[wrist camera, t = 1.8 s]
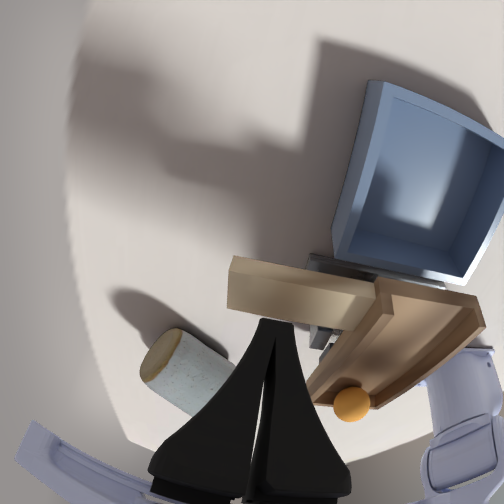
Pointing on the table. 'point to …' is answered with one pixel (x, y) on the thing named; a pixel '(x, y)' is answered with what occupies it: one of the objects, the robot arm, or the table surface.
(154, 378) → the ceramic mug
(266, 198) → the table surface
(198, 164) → the table surface
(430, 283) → the pivot stand
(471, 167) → the bin
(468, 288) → the table surface
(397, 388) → the tilt ramp
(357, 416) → the orange ball
